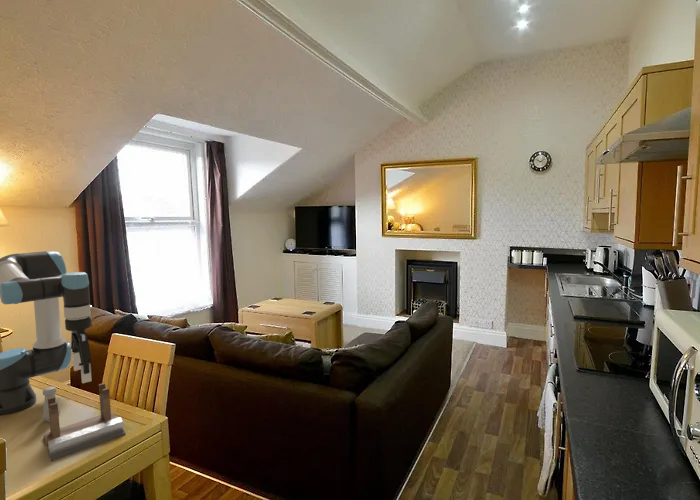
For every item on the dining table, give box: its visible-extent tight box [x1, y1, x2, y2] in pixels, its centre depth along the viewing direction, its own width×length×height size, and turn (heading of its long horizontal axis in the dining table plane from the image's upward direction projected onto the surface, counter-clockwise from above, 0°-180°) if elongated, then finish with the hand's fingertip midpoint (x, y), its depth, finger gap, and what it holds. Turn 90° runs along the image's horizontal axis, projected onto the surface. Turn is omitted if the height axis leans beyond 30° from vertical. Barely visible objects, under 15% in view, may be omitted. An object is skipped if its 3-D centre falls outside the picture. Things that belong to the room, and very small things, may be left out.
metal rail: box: [47, 416, 124, 457], centre depth 140 cm, size 4×22×4 cm, turn 134°
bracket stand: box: [43, 382, 117, 448], centre depth 146 cm, size 8×22×14 cm, turn 134°
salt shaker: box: [41, 386, 61, 423], centre depth 154 cm, size 6×6×13 cm
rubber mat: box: [47, 429, 127, 462], centre depth 140 cm, size 9×22×1 cm, turn 134°
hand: (82, 375), depth 138 cm, fingers open, 13 cm apart
